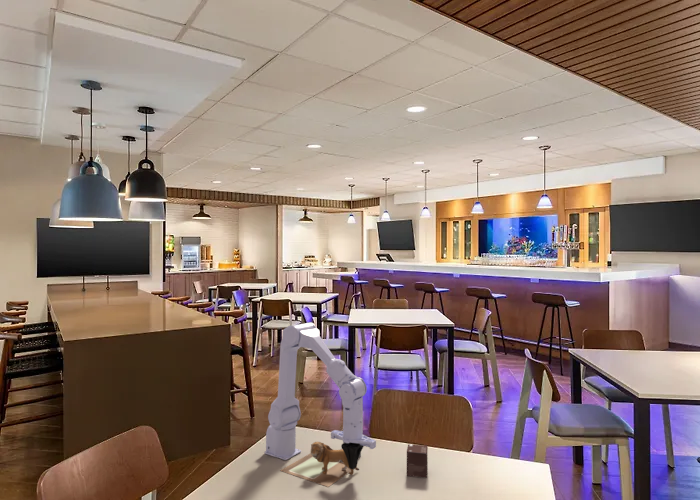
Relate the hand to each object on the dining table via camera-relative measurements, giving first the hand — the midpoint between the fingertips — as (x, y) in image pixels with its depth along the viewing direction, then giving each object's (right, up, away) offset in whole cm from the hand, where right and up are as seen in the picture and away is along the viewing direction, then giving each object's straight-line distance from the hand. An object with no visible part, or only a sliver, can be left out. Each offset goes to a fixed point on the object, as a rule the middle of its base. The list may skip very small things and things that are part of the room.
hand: (352, 467), depth 140 cm
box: (+19, -4, +4) cm, 20 cm away
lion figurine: (-6, -3, +4) cm, 8 cm away
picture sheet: (-10, -3, +6) cm, 13 cm away
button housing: (-1, -3, +14) cm, 15 cm away
